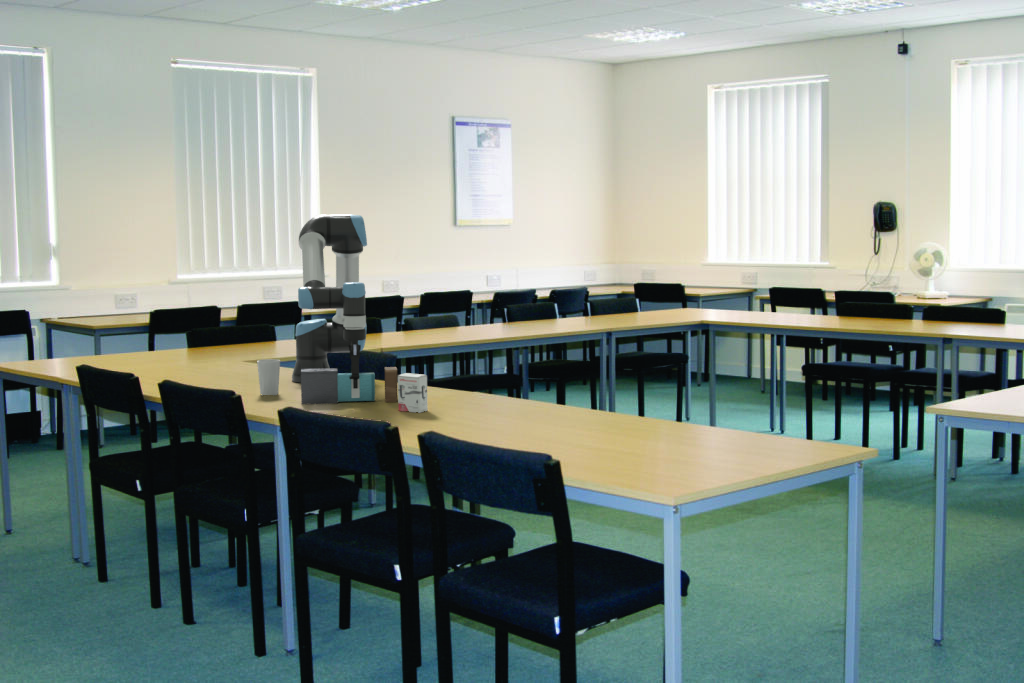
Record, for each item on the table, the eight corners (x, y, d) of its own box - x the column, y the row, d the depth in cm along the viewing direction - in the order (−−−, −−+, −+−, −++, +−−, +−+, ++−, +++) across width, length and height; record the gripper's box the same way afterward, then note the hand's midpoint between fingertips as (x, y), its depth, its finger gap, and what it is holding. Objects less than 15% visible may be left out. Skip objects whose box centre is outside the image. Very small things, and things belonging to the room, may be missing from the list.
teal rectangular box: (309, 400, 369) (308, 373, 368) (374, 398, 373) (374, 372, 372) (309, 402, 365) (308, 375, 364) (375, 400, 369) (374, 374, 368)
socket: (384, 398, 375) (384, 367, 373) (396, 398, 375) (396, 367, 374) (385, 402, 368) (385, 369, 367) (397, 401, 369) (397, 369, 367)
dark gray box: (302, 400, 370) (301, 368, 369) (337, 400, 372) (337, 368, 371) (301, 404, 364) (300, 371, 362) (337, 403, 365) (337, 370, 364)
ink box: (397, 411, 351) (396, 374, 349) (405, 408, 355) (405, 372, 354) (420, 413, 347) (419, 376, 345) (428, 410, 351) (428, 374, 350)
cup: (278, 396, 381) (277, 362, 379) (255, 396, 381) (254, 362, 380) (283, 392, 389) (282, 359, 387) (261, 392, 389) (260, 359, 388)
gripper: (343, 325, 375) (344, 393, 377) (343, 330, 358) (344, 401, 361) (365, 325, 376) (366, 392, 379) (366, 330, 359) (367, 400, 362)
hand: (355, 396), depth 370 cm, fingers closed on teal rectangular box, 4 cm apart
